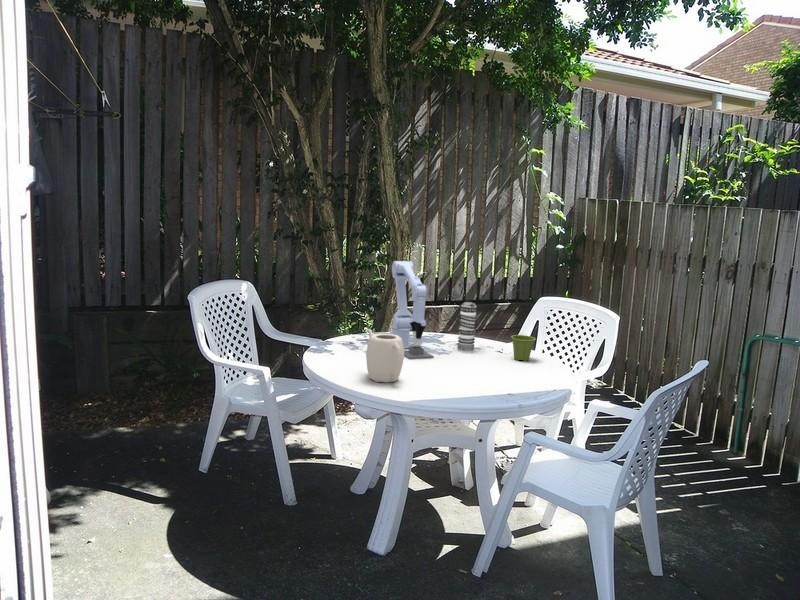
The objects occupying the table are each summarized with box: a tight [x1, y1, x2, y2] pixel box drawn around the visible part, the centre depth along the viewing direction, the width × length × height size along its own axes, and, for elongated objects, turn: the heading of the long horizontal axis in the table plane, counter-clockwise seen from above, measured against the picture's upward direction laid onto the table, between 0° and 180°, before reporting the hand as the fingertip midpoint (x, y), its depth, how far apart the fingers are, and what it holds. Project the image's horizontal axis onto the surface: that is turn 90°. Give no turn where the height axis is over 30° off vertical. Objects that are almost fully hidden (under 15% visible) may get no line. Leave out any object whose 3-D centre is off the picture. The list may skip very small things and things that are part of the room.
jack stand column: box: [412, 331, 422, 347], centre depth 342 cm, size 3×3×7 cm
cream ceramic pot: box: [365, 329, 405, 384], centre depth 296 cm, size 16×27×19 cm, turn 33°
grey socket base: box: [404, 345, 435, 360], centre depth 343 cm, size 13×13×5 cm
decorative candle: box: [456, 301, 478, 354], centre depth 357 cm, size 9×9×25 cm
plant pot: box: [511, 334, 536, 362], centre depth 346 cm, size 12×12×11 cm
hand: (417, 337), depth 342 cm, fingers closed on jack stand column, 3 cm apart
